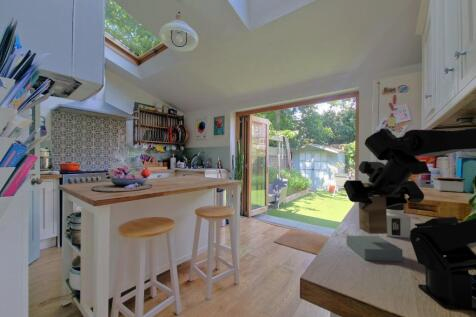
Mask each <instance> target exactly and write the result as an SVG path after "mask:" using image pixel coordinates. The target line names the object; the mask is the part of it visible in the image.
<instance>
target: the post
mask: <svg viewBox="0 0 476 317" xmlns="http://www.w3.org/2000/svg"><path fill="white" fill-rule="evenodd" d="M362 183H363V185H364V187H369V185H372V183H370V182H362ZM371 201H372V202H373V203H372V204H370V205H368V206H367V207H365V208H363V209H360V207H359V206H358V218H359V219H358V220H359V224H358V227H359V228H358V229H360V230H361V231H364V232H365V233H367V234H369V235H377V234H379V235H382V234H383V235H384V234H387V211H386V197H380V196H373V197H372V198H371Z"/></svg>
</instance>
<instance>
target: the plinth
mask: <svg viewBox="0 0 476 317" xmlns="http://www.w3.org/2000/svg"><path fill="white" fill-rule="evenodd" d="M346 246H347V247H348V248H350V249H351V250H352V251H353V252H354V253H355V254H357V255H358V256H359V257H361V259H363V260H364V261H389V262H391V261H395V262H397V261H399V262H403V260H404V259H403V249H402V248H400V247H398V246H397V245H395V244H393V243H391V242H390V241H387V240H386V239H384V238H382V237H380V236H379V235H377V236H376V235H373V236H372V235H346Z"/></svg>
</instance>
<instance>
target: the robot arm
mask: <svg viewBox="0 0 476 317" xmlns="http://www.w3.org/2000/svg"><path fill="white" fill-rule="evenodd" d="M364 146H365V147H366V148H367V149H368V150H369V151H370V152H371V153H372V155H373V156H374V157H375V158H376V159H377V160H379V161H367V160H365V161H361V162H360V164H359V165H358V166H359V167H358V172H360V173H361V174H364V175H365V174H366V175H367V176H368V177H369V178H368V183H372V185H369V187H364V185H363V183H364V182H363V181H362V180H359V179H351V180H350V179H346V180H345V182H344V184H343V188H344V191H345V193H346V195H347V198H348V200H349V201H350V202H352V203H358V208H359V207H360V209H363V208H365V207H367V206H368V205H370V204H372V203H373V202H372V201H371V198H372V197H373V196H380V197H386V208H387V207H391V206H396V205H401V204H404V205H406V204H407V203H408V202H409V203H410V204H421V202H422V201H423V200H424V199H425V193H424V192H423V190H421V188H420V187H419V185H417V183H416V182H415V181H414V180H409V179H410V178H411V177H412V176H416V175H423V174H429V173H430V170H429V169H430V168H429V166H428V165H427V161H426V160H423V161H422V160H421V159H420V158H418V157H438V156H443V155H450V154H454V153H458V152H462V151H469V150H470V151H471V150H474V151H475V150H476V128H475V127H473V128H468V129H467V128H466V129H458V130H457V129H455V130H446V129H445V130H440V129H439V130H437V129H409V130H407V131H405V132H404V134H403V135H402V136H399V137H398V136H396V135H395V134H393V133H392V131H391V130H390V129H389V128H385V127H383V128H380V129H379V130H378V131H376V132H374V133H372V134H371V135H369V136H368V137H367V138H366V139H365V141H364ZM380 161H381V162H380ZM382 161H386V163H384V162H382ZM407 196H408V197H407ZM406 197H407V199H406ZM414 226H415V227H413V228H412V229H411V231H410V238H409V239H410V242H411V246H412V249H413V251H414V255H415V256H416V260H417V263H418V264H420V265H422V266H424V268H425V269H424V270H425V284H421V283H419V284H417V285H418V286H417V287H418V288H419V289H420V290H421V291H422V292H424V293H426V295H428V296H429V297H430V298H431V299H432V300H433V301H435V302H436V303H437V304H439V305H440V306H441V307H443V308H447V309H448V308H449V309H458V310H471V311H472V310H473V311H476V302H475V301H474V300H473V274H470V272H469V271H474V270H475V271H476V253H475V251H474V250H473V248H475V247H476V217H474V218H471V219H466V220H464V221H460V222H459V220H458V219H457V217H456V216H449V217H448V216H447V217H445V216H444V217H433V218H431V219H427V220H426V221H425V222H419V223H414Z"/></svg>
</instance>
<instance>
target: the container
mask: <svg viewBox="0 0 476 317" xmlns="http://www.w3.org/2000/svg"><path fill="white" fill-rule="evenodd" d="M386 211H387V234H383V235H384V236H385V237H390V238H392V237H393V238H405V239H406V238H407V239H410V231H411V230H412V229H411V227H412V226H411V223H412V222H411V221H412V220H411V219H412V218H411V216H410V215H409V214H406V213H405V204H401V205H396V206H391V207H387V208H386Z"/></svg>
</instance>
